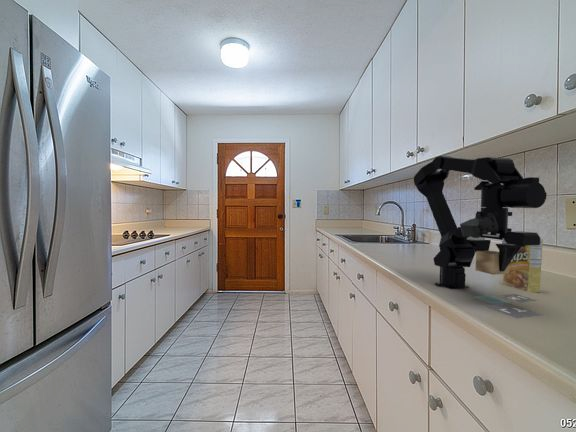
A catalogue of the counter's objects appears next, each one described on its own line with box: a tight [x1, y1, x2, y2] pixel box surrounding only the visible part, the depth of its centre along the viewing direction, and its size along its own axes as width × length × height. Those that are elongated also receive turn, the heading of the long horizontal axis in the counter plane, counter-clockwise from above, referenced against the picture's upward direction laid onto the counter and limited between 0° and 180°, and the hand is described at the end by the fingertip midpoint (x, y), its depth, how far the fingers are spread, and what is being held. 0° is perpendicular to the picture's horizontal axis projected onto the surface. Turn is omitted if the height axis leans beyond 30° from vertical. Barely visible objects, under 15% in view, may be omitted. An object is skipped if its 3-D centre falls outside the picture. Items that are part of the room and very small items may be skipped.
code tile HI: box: [497, 293, 539, 303], centre depth 77 cm, size 6×6×1 cm
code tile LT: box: [483, 303, 544, 319], centre depth 67 cm, size 8×8×1 cm
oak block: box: [475, 250, 510, 276], centre depth 75 cm, size 5×5×5 cm
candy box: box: [502, 238, 543, 293], centre depth 87 cm, size 9×4×15 cm, turn 6°
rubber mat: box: [473, 294, 512, 305], centre depth 75 cm, size 6×6×1 cm
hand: (491, 269), depth 75 cm, fingers closed on oak block, 5 cm apart
